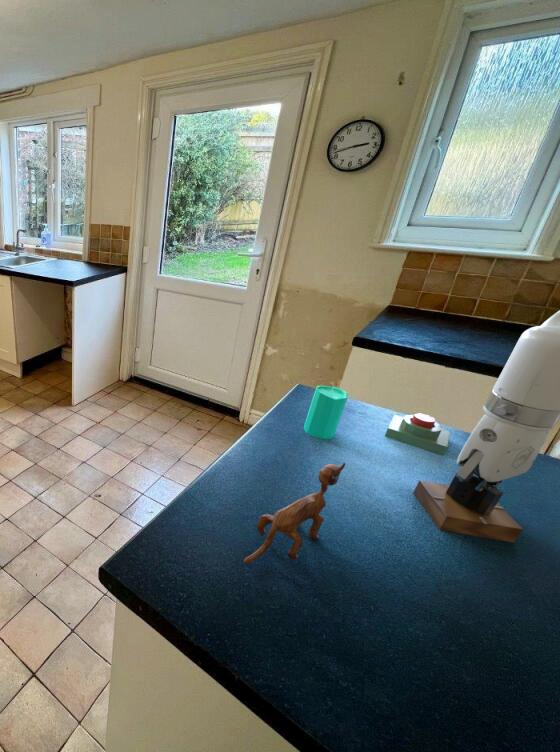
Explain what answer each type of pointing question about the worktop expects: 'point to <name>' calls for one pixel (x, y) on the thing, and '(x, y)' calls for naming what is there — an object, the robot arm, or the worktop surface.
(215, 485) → the worktop surface
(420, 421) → the button
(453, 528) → the panel
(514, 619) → the worktop surface
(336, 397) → the candle
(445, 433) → the button box
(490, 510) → the dark grey block
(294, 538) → the cat figurine
